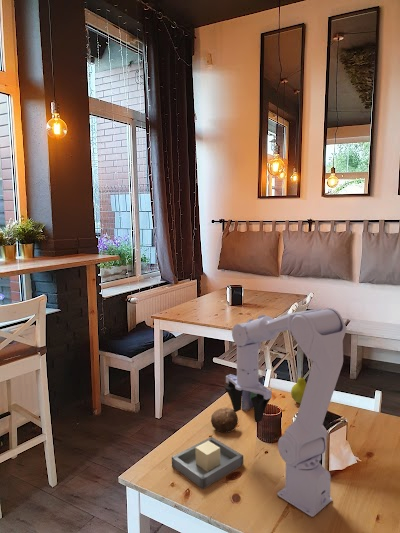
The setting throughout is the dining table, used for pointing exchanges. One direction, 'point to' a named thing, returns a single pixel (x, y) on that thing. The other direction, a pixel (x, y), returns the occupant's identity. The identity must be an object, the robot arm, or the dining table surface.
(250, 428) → the dining table surface
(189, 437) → the dining table surface
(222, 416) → the brown rough rounded lump
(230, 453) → the slate tray
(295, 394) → the fruit
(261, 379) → the flask
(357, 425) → the dining table surface
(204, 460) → the cheese cube
